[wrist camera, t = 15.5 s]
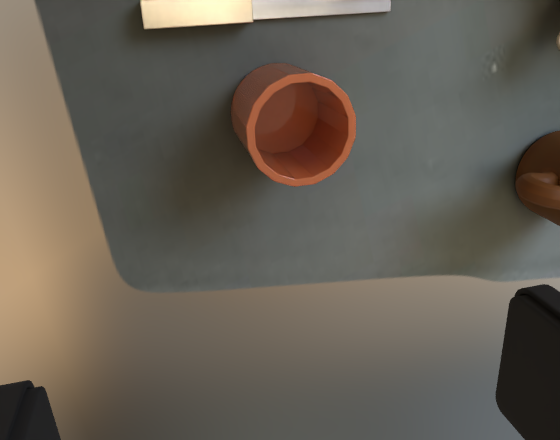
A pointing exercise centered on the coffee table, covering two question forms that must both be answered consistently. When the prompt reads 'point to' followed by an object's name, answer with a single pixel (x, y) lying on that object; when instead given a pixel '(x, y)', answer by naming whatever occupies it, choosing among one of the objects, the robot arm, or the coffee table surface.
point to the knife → (246, 10)
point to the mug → (541, 177)
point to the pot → (293, 123)
